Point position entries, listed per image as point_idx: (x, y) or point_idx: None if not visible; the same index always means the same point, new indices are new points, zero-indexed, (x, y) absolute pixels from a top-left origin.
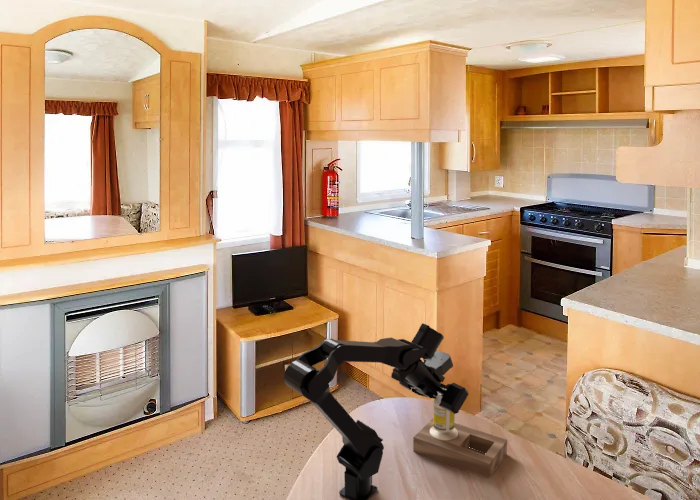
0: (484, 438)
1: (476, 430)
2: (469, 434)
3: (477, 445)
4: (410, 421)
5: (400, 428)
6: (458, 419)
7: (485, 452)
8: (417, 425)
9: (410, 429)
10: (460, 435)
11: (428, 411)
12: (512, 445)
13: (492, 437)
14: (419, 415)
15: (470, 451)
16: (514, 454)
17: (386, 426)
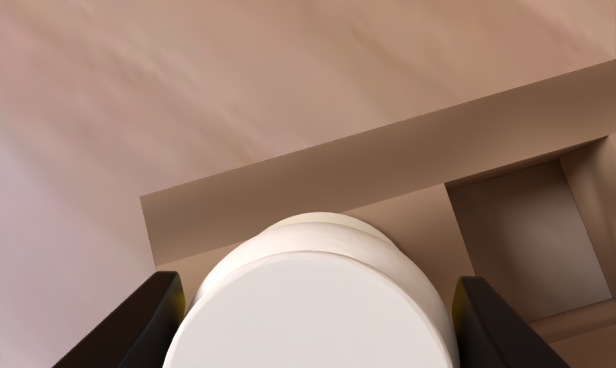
0: (539, 151)
1: (441, 116)
2: (445, 189)
3: (477, 179)
4: (13, 249)
5: (21, 355)
6: (192, 24)
7: (515, 170)
8: (71, 249)
9: (70, 315)
10: (416, 246)
11: (19, 88)
12: (545, 4)
13: (561, 102)
14: (9, 160)
15: (596, 350)
16: (607, 61)
17: None
